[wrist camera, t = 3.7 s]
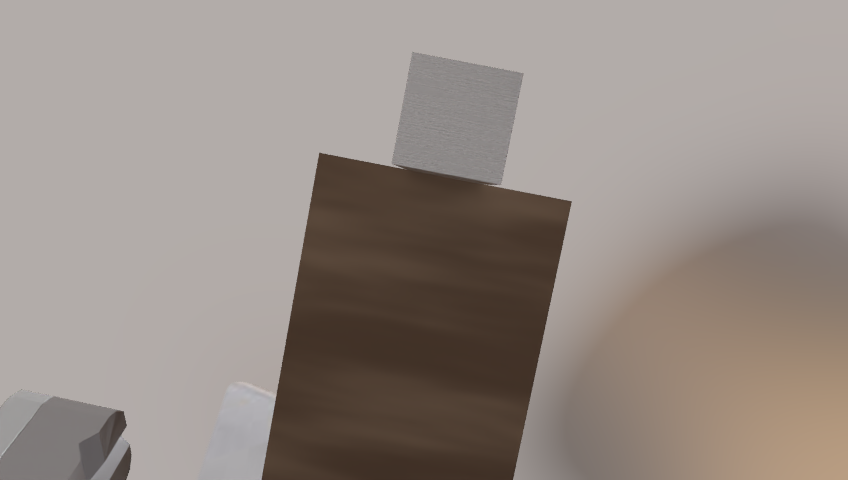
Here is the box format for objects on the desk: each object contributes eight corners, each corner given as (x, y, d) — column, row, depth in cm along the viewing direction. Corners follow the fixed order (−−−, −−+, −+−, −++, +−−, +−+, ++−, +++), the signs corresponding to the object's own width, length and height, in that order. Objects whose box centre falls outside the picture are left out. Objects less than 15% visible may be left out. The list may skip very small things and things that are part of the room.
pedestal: (295, 551, 44) (366, 164, 42) (443, 581, 44) (522, 194, 42) (212, 759, 28) (319, 152, 26) (443, 806, 28) (571, 201, 26)
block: (419, 174, 40) (429, 124, 40) (468, 184, 40) (478, 134, 40) (391, 163, 18) (412, 51, 18) (501, 184, 18) (523, 73, 18)
